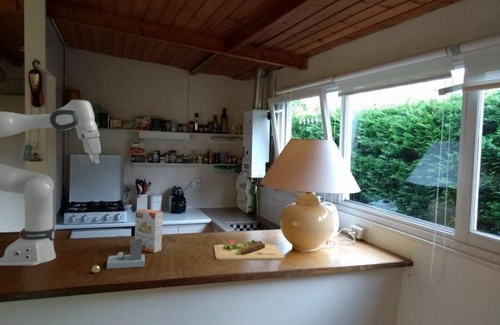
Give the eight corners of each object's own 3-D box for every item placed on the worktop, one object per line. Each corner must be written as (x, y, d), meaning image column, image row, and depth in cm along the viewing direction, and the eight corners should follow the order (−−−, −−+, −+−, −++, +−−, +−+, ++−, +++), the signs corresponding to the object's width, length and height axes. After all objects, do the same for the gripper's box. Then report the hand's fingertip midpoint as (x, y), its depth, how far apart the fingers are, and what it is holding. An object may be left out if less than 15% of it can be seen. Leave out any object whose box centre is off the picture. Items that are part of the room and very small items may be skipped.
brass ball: (91, 274, 143) (91, 266, 143) (92, 271, 146) (92, 264, 146) (99, 273, 144) (99, 266, 144) (100, 271, 147) (100, 263, 147)
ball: (116, 260, 155) (117, 253, 155) (117, 257, 158) (117, 251, 158) (124, 259, 156) (124, 252, 156) (124, 257, 159) (124, 250, 159)
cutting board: (216, 261, 168) (216, 246, 168) (213, 247, 191) (214, 234, 191) (284, 261, 174) (285, 246, 173) (274, 247, 197) (274, 234, 197)
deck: (106, 268, 150) (107, 263, 150) (108, 261, 160) (108, 256, 160) (144, 266, 155) (144, 260, 155) (144, 259, 165) (144, 254, 165)
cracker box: (133, 248, 180) (135, 209, 179) (142, 246, 186) (143, 208, 185) (153, 253, 174) (155, 213, 173) (161, 250, 179) (163, 211, 178)
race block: (129, 260, 155) (130, 242, 155) (130, 256, 161) (130, 239, 160) (141, 259, 157) (142, 242, 156) (141, 255, 162) (141, 238, 162)
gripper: (77, 134, 166) (84, 162, 168) (84, 135, 149) (92, 166, 152) (91, 132, 169) (97, 159, 172) (99, 132, 152) (107, 162, 155)
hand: (95, 162), depth 162 cm, fingers open, 8 cm apart
